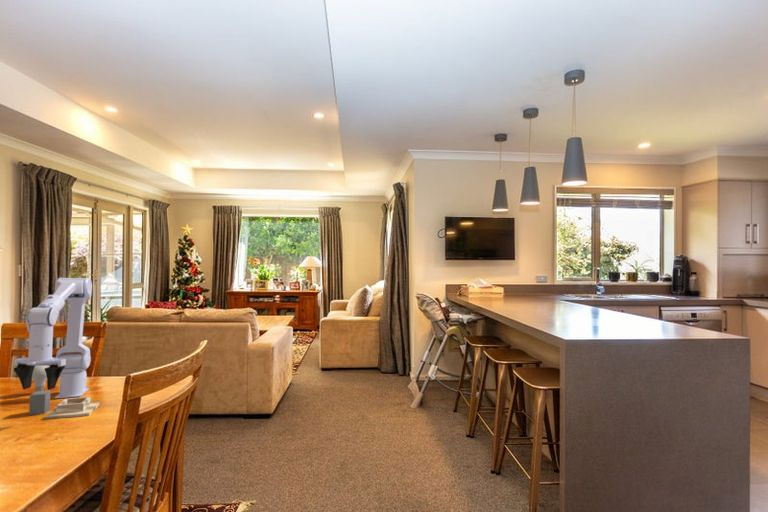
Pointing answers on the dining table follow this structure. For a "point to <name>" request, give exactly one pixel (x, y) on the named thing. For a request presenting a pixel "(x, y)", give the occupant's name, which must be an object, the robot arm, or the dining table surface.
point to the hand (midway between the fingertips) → (39, 388)
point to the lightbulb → (39, 377)
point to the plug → (39, 402)
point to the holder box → (73, 408)
